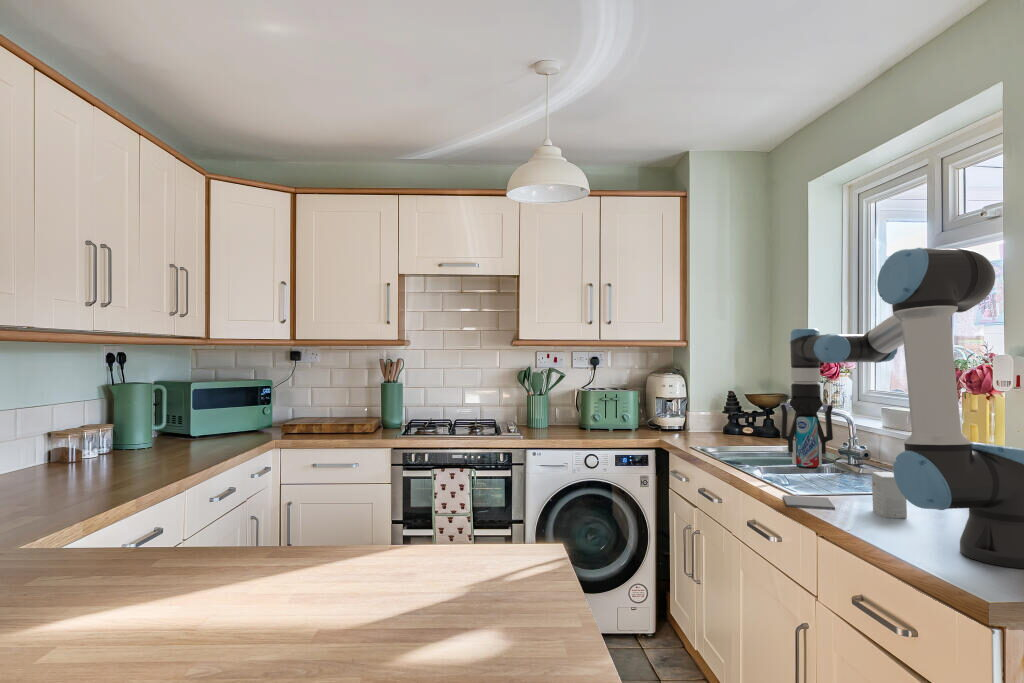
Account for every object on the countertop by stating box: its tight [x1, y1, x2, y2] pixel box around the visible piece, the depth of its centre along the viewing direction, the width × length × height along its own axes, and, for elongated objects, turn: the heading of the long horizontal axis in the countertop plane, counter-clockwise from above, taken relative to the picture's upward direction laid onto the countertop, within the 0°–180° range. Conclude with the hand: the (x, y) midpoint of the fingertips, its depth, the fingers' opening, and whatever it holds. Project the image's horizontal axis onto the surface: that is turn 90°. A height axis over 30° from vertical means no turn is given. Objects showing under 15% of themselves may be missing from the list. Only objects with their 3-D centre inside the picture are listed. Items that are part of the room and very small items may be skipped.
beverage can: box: [794, 413, 819, 470], centre depth 181 cm, size 6×6×15 cm
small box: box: [871, 471, 908, 519], centre depth 167 cm, size 8×6×10 cm
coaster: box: [782, 494, 836, 510], centre depth 181 cm, size 12×12×1 cm
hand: (806, 464), depth 181 cm, fingers closed on beverage can, 6 cm apart
